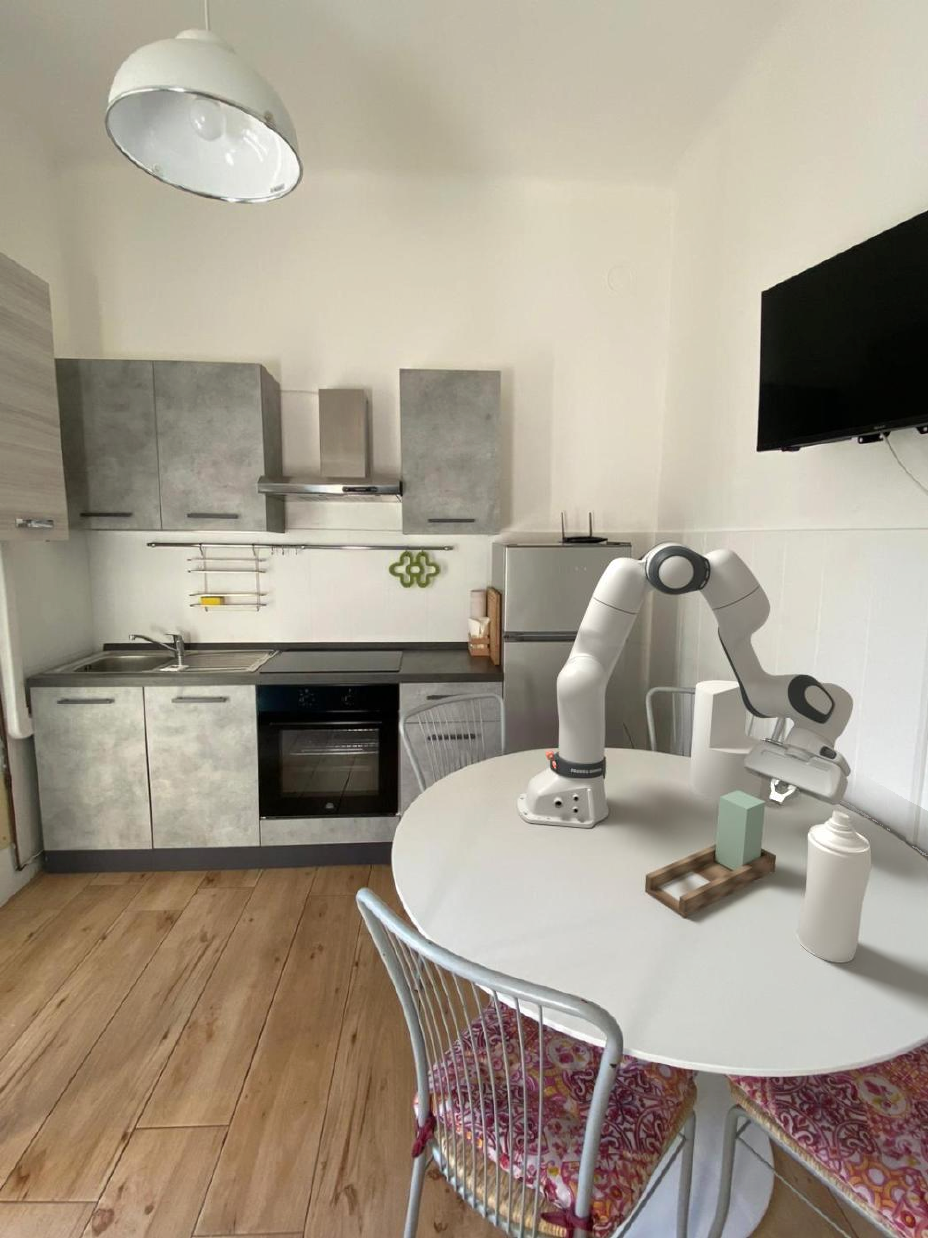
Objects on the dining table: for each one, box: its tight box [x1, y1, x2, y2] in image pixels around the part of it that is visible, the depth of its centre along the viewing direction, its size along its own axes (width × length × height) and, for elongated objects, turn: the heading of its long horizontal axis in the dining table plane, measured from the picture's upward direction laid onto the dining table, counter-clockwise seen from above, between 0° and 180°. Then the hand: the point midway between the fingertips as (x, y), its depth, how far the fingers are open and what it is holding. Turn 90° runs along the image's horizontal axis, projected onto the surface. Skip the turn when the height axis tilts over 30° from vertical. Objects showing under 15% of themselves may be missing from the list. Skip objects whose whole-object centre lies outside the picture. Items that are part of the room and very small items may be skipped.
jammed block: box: [715, 790, 766, 871], centre depth 118 cm, size 6×6×14 cm
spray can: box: [795, 810, 872, 964], centre depth 95 cm, size 12×11×25 cm
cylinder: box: [688, 679, 762, 804], centre depth 153 cm, size 17×17×28 cm
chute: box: [644, 843, 777, 919], centre depth 115 cm, size 28×9×4 cm, turn 121°
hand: (776, 803), depth 124 cm, fingers closed
